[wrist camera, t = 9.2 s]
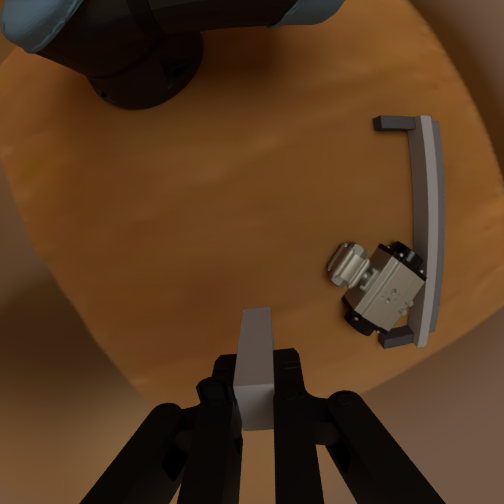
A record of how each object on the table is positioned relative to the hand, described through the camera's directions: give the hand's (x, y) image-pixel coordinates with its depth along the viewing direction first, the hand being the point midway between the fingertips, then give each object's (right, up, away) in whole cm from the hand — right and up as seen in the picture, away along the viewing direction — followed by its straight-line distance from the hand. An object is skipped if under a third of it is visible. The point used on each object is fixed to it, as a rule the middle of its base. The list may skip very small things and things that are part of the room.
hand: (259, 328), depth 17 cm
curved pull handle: (+22, +7, +18) cm, 29 cm away
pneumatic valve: (+9, +4, +17) cm, 19 cm away
